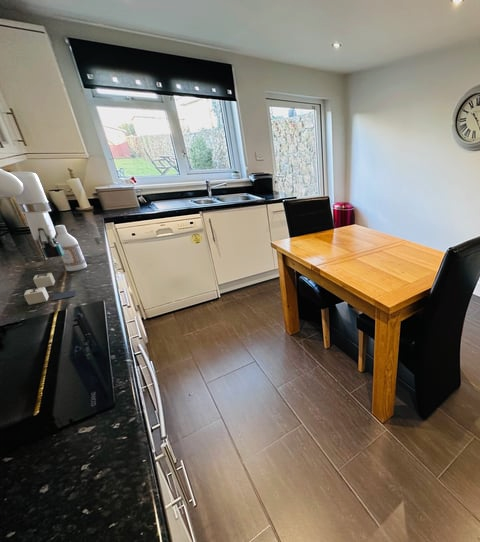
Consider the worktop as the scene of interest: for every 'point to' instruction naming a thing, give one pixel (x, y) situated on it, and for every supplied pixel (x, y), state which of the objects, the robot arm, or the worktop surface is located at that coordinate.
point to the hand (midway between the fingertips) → (54, 254)
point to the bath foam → (70, 250)
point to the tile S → (57, 249)
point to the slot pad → (63, 295)
